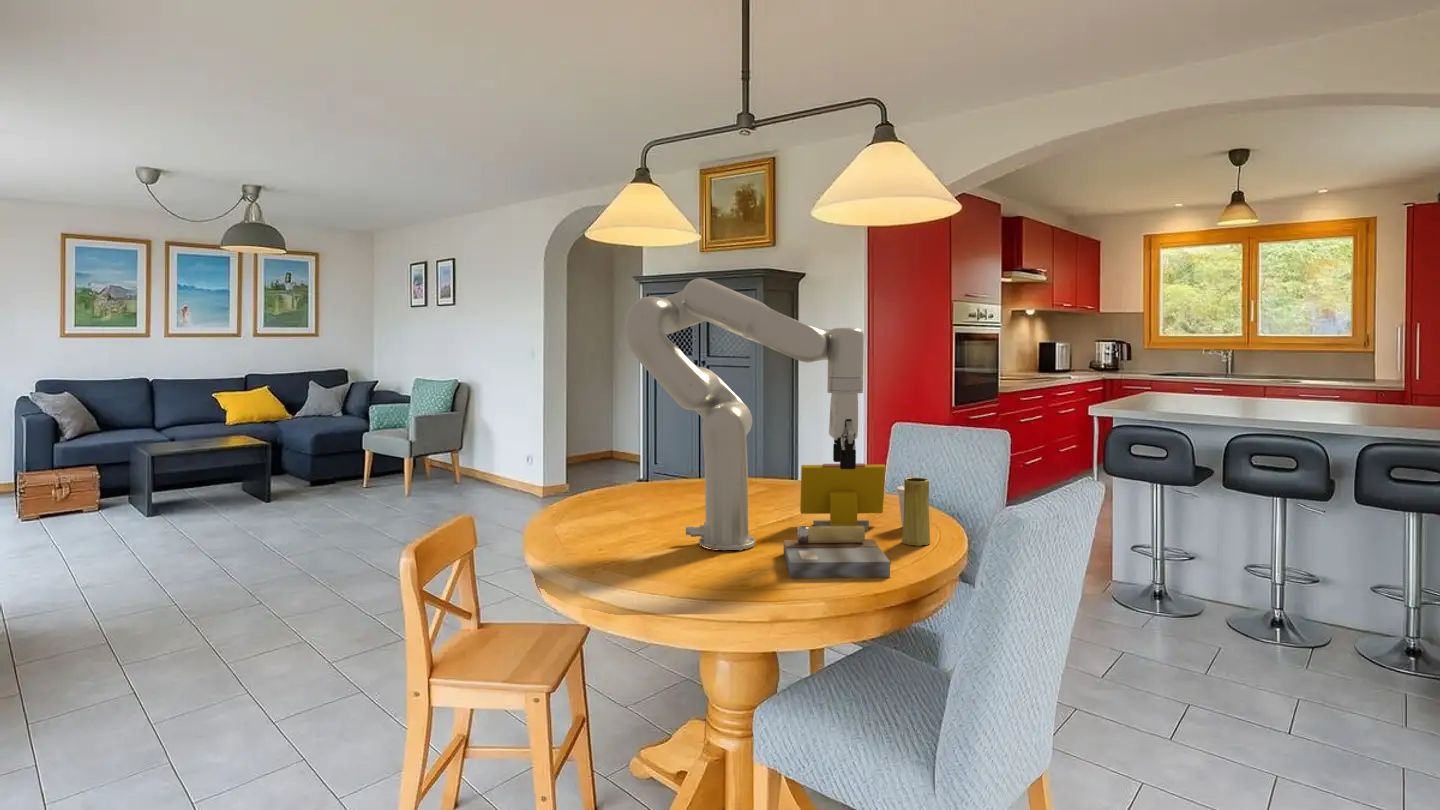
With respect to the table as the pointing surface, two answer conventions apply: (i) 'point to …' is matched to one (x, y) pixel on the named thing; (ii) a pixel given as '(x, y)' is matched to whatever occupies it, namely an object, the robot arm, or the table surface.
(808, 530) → the latch bar
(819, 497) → the toy computer monitor
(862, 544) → the door mockup
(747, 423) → the robot arm
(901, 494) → the smoothie
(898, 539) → the table surface
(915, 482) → the vase
